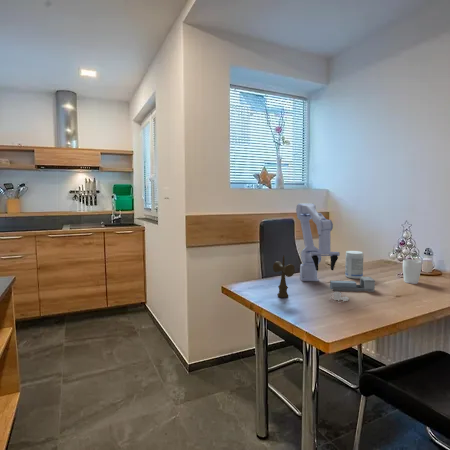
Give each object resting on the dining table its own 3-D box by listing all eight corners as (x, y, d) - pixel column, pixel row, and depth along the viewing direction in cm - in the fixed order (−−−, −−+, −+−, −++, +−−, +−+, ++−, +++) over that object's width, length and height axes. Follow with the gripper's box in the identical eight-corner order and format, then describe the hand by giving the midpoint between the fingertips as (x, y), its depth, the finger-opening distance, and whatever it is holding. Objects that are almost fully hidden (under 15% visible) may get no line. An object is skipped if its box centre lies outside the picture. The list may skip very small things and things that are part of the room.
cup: (415, 280, 177) (416, 259, 176) (423, 284, 168) (425, 262, 167) (398, 279, 178) (399, 258, 177) (406, 284, 169) (407, 262, 168)
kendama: (285, 300, 144) (286, 257, 142) (271, 295, 152) (271, 254, 150) (294, 298, 147) (295, 256, 145) (280, 292, 155) (281, 252, 153)
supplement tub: (365, 277, 184) (366, 252, 182) (358, 280, 177) (359, 254, 175) (349, 273, 191) (350, 249, 189) (341, 276, 184) (342, 252, 182)
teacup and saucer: (349, 300, 146) (350, 291, 145) (346, 305, 139) (347, 296, 138) (330, 297, 150) (330, 288, 150) (326, 302, 143) (326, 293, 143)
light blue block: (331, 290, 160) (331, 282, 160) (329, 288, 164) (330, 280, 163) (356, 290, 159) (356, 283, 158) (353, 288, 162) (354, 281, 162)
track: (333, 290, 158) (333, 279, 158) (330, 286, 165) (330, 275, 165) (374, 291, 156) (375, 280, 156) (369, 287, 163) (369, 276, 163)
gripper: (312, 244, 157) (312, 271, 157) (341, 244, 156) (341, 271, 157) (308, 243, 164) (308, 269, 164) (337, 242, 163) (336, 268, 164)
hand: (324, 270), depth 161 cm, fingers open, 7 cm apart
